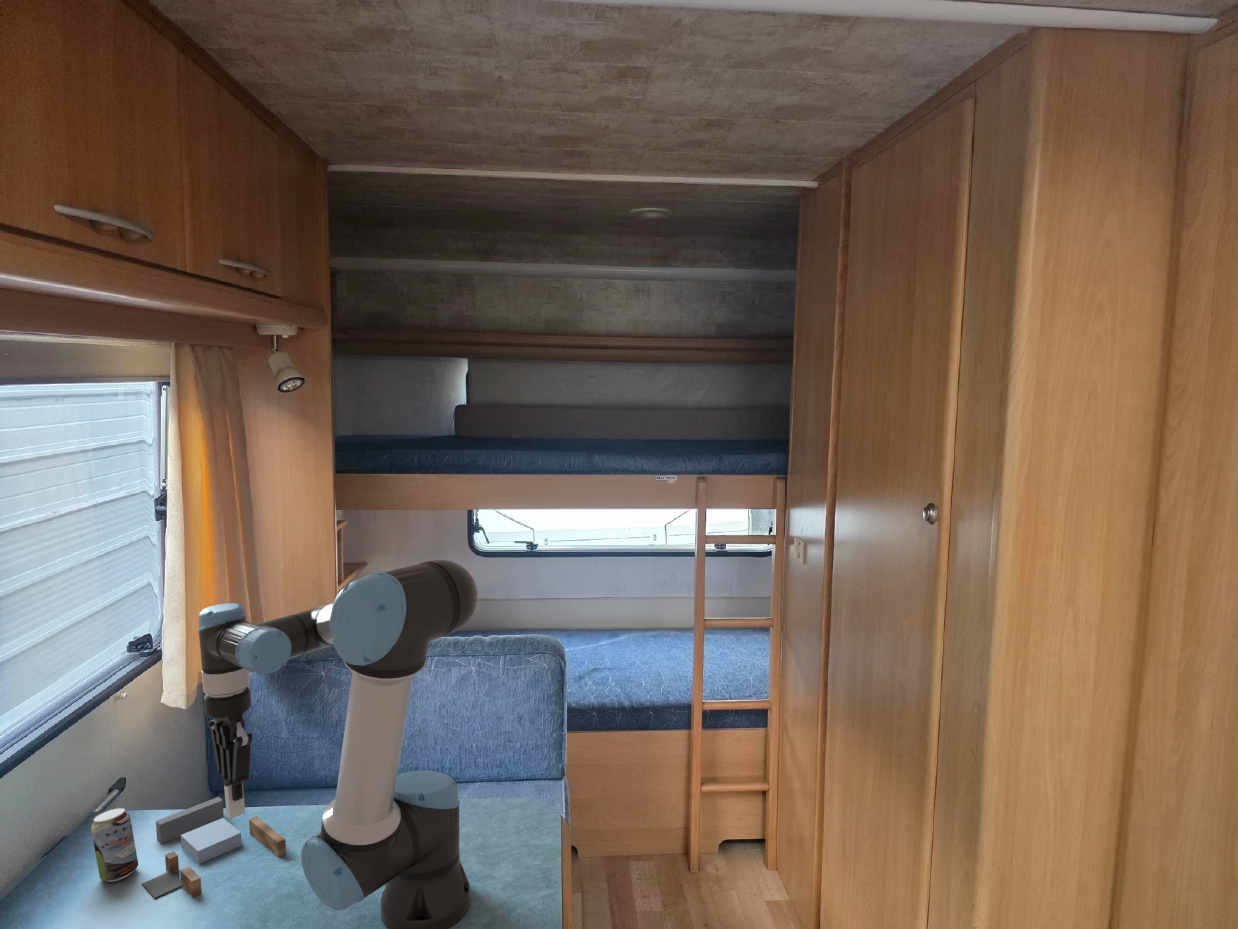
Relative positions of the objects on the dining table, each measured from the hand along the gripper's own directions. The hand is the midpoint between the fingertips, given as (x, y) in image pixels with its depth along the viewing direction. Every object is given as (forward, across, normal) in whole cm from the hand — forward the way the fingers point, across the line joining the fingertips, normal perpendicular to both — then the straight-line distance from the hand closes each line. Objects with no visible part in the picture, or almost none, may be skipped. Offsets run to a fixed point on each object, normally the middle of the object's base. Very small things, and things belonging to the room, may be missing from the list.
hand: (235, 814), depth 145 cm
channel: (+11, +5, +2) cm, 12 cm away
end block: (+11, +22, 0) cm, 24 cm away
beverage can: (+11, +16, +15) cm, 25 cm away
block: (+11, +12, 0) cm, 17 cm away
